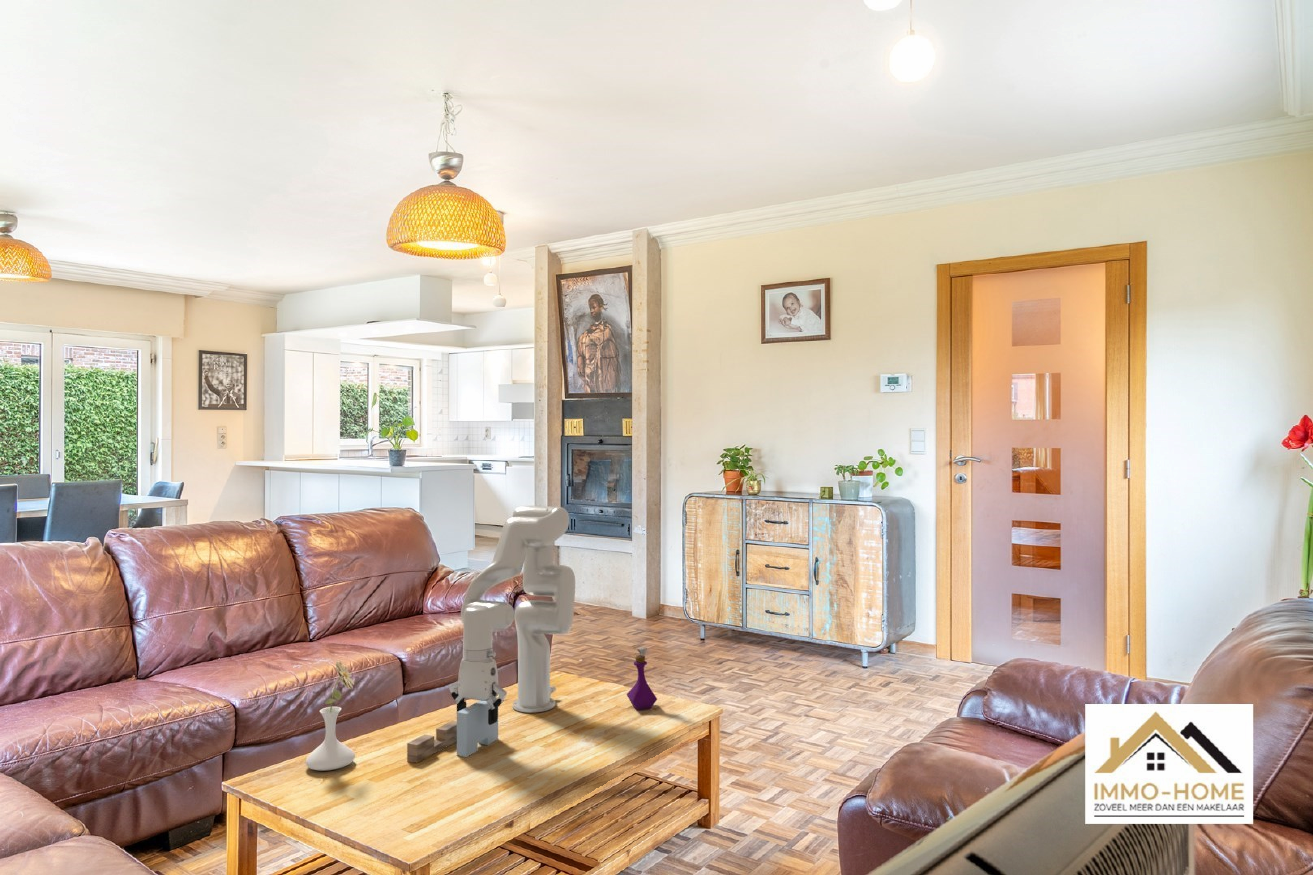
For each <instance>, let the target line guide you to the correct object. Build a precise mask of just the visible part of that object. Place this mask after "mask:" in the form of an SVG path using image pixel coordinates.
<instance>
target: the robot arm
mask: <svg viewBox="0 0 1313 875" xmlns="http://www.w3.org/2000/svg"><path fill="white" fill-rule="evenodd" d="M569 526H570V515H569V513H568V511H567V509H565V508H564V507H562V506H556V505H555V506H554V505H553V506H552V505H551V506H548V505H547V506H546V505H522V506H521V505H520V506H518V507H516V508H515V509H514V511H513V512H512V517H510V518H508V519H507V520H506V521H505V522H504V523H503V526H502V529H501V533H500V536H499V539H498V542H497V545H496V548H495V552H494V555H493V559H492V560H491V563H490V564H489V565H488V566H487V567H485V568H484V569H483V570H481V571H480V573H479V574H477V575H476V577H474V578H473V580H472V581H471V582H470V583H469V586H468V588H467V589H466V592H465V596H464V598H463V602H462V605H461V610H460V621H461V623H462V624H463V625H462V626H463V627H462V629H463V631H462V632H463V633H462V634H463V635H462V636H463V637H462V644H463V645H462V659H461V660H460V664H459V670H458V679H457V680H456V681H455V682H453V683H451V684H449V685H448V689H449V691H450V693H451V694H450V695H451V696H450V697H452V699H453V700H454V704H456V713H457V712H458V711H460V710H462V709H464V708H466V707H467V701H466V699H467V700H474V701H475V700H476V701H486V702H487V703H488V705H489V707H490V709H489V710H488V724H489V725H492V724H494V723H496V722H497V719H498V720H499V707H501V704H503V702H504V701H505V698H506V696H507V693H508V692H507V691H506V690H505V689H504V688H502V687H501V686H500V685H499V672H498V667H497V661H496V659H494V658H496V656H497V653H496V651H494V649H493V648H494V646H493V642H494V640H493V639H494V638H493V636H494V632H497V631H498V632H500V631H504V630H506V629H509V628H510V627H511V626H512V624H513V622H514V624H515V629H516V634H517V699H516V700H514V701H513V702H512V709H513V710H515V711H517V712H520V713H530V714H531V713H542V712H547V711H550V710H552V709H553V708H555V707H556V700H555V699H553V698H552V697H551V695H552V694H553V693H554V692H556V691H557V688H556V686H555V685H551V646H550V643H549V640H548V639H547V637H546V635H554V636H555V635H556V636H557V635H559V636H563V635H567V634H568V633H569V632H570V631H571V629H572V626H573V621H574V615H575V614H574V611H575V598H576V597H575V596H576V595H575V594H576V576H575V572H574V571H573V569H572V568H571V567H570V566H567V565H563V564H554V563H553V559H554V558H553V557H554V546H553V543H555V542H556V541H557V540H558V539H560V538H561V537H562V536H564V534H565V533H566V532H567V531H568V528H569ZM522 571H523V572H522ZM521 572H522V573H523V574H522V589H523V591H524V593H526V594H527V595H529V596H535V597H547V598H548V597H550V598H551V597H553V598H555V601H549V600H548V601H547V600H536V599H534V600H533V599H532V600H531V599H530V600H525V601H522V602H520V603H519V604H518V605H517V606H516V608H515V609H514V607H513V606H512V605H511V604H510V603H508V602H506V601H496V600H485V599H484V600H482V599H483V597H484V595H485V594H486V593H487V591H489V589H491V588H493V587H494V586H496V585H498V584H501V583H503V582H506V581H508V580H510V579H512V578H516V577H517V576H519V575H520V573H521ZM497 696H498V697H497ZM497 698H498V699H497ZM492 701H493V702H492Z"/></svg>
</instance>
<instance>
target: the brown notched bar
mask: <svg viewBox="0 0 1313 875" xmlns="http://www.w3.org/2000/svg"><path fill="white" fill-rule="evenodd" d="M456 741H457V720H451V721H448V722H446V723H445V724H443V725H440V726H439V727H436V729H435V735H431V734H423V735H421V736H419V737H417V738H416V739H413V740H411V741H409V742H407V743H406V744H407V745H406V750H407V751H406V762H409V763H414V762H416V763H415V764H418V763H420V762H421V760H422V761H423V759H424V758H425V759H427V758H429V757H431V756H432V755H431V754H433V753H435V754H436V752H437V751H438V752H440V751H442V750H444V749H446V748H447V747H446V746H448V745H449V746H451V745H453V744H454V742H455V743H457V742H456ZM449 746H448V747H449ZM445 747H446V748H445ZM443 748H444V749H443ZM441 749H442V750H441ZM439 750H440V751H439ZM438 752H437V753H438ZM430 755H431V756H430ZM433 755H434V754H433ZM428 756H429V757H428ZM425 759H424V760H425ZM417 762H418V763H417Z"/></svg>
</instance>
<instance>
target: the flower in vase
mask: <svg viewBox="0 0 1313 875" xmlns="http://www.w3.org/2000/svg"><path fill="white" fill-rule="evenodd" d="M335 669H336V670H335V671H336V673H337V675H338V679H337V681H336V683H335V685H334V687H333V689H332V690H333V691H332V695H331V698H330V697H329V698H327V700H326V701H325V702H324V704H328V705H329V704H330V706H327V707H323V708H322V709H320V710H319V713H320V714H321V715H322V717H323V720H324V726H325V736H324V740H323V741H322V743H321V744H320V745H318V746H317V747H316V748H315V749H313V751H312V752H310V754H308V756H306V759H305V762H304V763H305V765H306V767H307V768H308V769H310V770H315V771H333V770H338V769H341V768H344V767H346V766H348V765H350V764H351V763H352V762H354V760H355V757H356V754H355V752H354V750H352V749H351V748H350V747H348V745H346V744H344V743H342V742H340V741H339V740H338V739H337V736H336V725H337V724H336V723H337V718H338V715H339V714H340V712H341V711H342V707H340V706H333V703H334V702H336V701H339V700H340V699H341V698H342V693H341V691H339V690H337V689H336V688H337V686H338V683H339V681H341V683H342V685H343V686H344V687H345V688H346V689H348V690H352V689H354V687H353V685H355V682H354V681H353V679H352V673H351V672H349V670H348V666H347V665H346V664H345V665H343V662H342V661H341V660H339V661H338V660H336V662H335ZM334 698H335V699H334Z"/></svg>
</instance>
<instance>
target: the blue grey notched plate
mask: <svg viewBox="0 0 1313 875" xmlns="http://www.w3.org/2000/svg"><path fill="white" fill-rule="evenodd" d="M496 698H497V699H498V697H496ZM492 702H493V701H492ZM489 709H490V707H489V705H488V703H487V702H486V701H481V700H478V701H477V702H475V703H472V704H470V705H468V706H466V708H464V709H462V710H460V711H458V712H457V711H456V721H457V742H456V756H457V755H460V756H459V757H462V756H463V757H462V758H468V757H470V756H471V754H472V753H473V754H475V753H477V752H478V749H479V747H478V744H480V745H487V746H488V745H491V744H492V743H494V742H495V740H496V741H497V740H499V718H498V719H497V722H496V723H494V724H492V725H489V724H488V710H489ZM476 751H477V752H476ZM473 754H472V755H473ZM469 755H470V756H469Z"/></svg>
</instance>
